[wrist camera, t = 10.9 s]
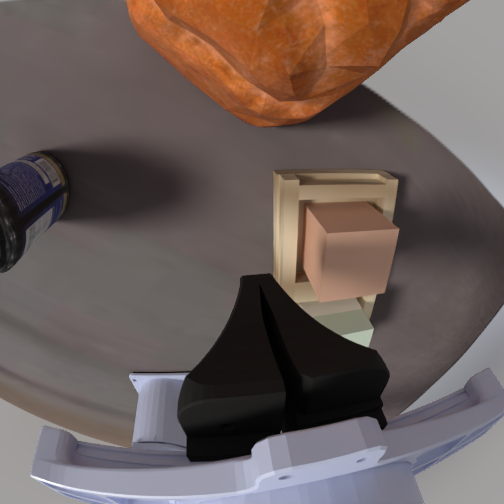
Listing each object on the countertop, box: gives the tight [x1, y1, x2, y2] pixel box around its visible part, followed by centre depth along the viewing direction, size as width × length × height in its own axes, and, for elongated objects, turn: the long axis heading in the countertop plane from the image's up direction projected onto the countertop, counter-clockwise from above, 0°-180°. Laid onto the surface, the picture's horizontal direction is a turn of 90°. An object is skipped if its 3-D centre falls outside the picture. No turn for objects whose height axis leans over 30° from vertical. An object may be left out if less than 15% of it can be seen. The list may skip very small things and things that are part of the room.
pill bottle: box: [0, 152, 69, 273], centre depth 14 cm, size 6×6×11 cm
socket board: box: [273, 169, 398, 320], centre depth 24 cm, size 18×9×3 cm, turn 2°
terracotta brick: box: [301, 201, 399, 302], centre depth 20 cm, size 5×5×5 cm
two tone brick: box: [298, 298, 374, 347], centre depth 24 cm, size 5×5×5 cm
